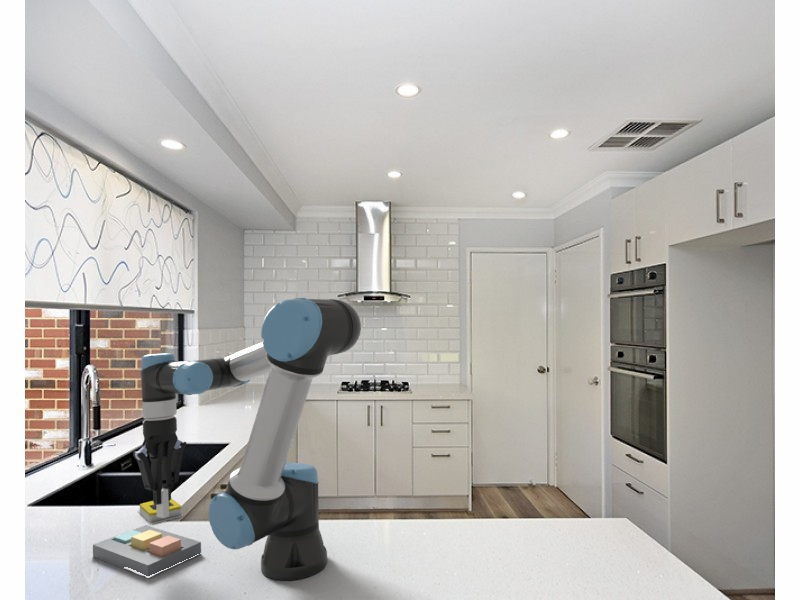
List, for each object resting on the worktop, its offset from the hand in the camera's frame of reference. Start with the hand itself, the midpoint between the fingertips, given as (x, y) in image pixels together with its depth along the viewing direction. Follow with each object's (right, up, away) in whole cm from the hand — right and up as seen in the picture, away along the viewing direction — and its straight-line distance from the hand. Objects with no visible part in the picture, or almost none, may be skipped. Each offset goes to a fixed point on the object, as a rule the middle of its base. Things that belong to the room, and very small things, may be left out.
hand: (162, 516), depth 129 cm
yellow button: (-5, -9, +3) cm, 11 cm away
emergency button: (-15, -13, +32) cm, 38 cm away
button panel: (-5, -11, +3) cm, 13 cm away
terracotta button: (+1, -9, -1) cm, 9 cm away
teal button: (-12, -11, +7) cm, 18 cm away
